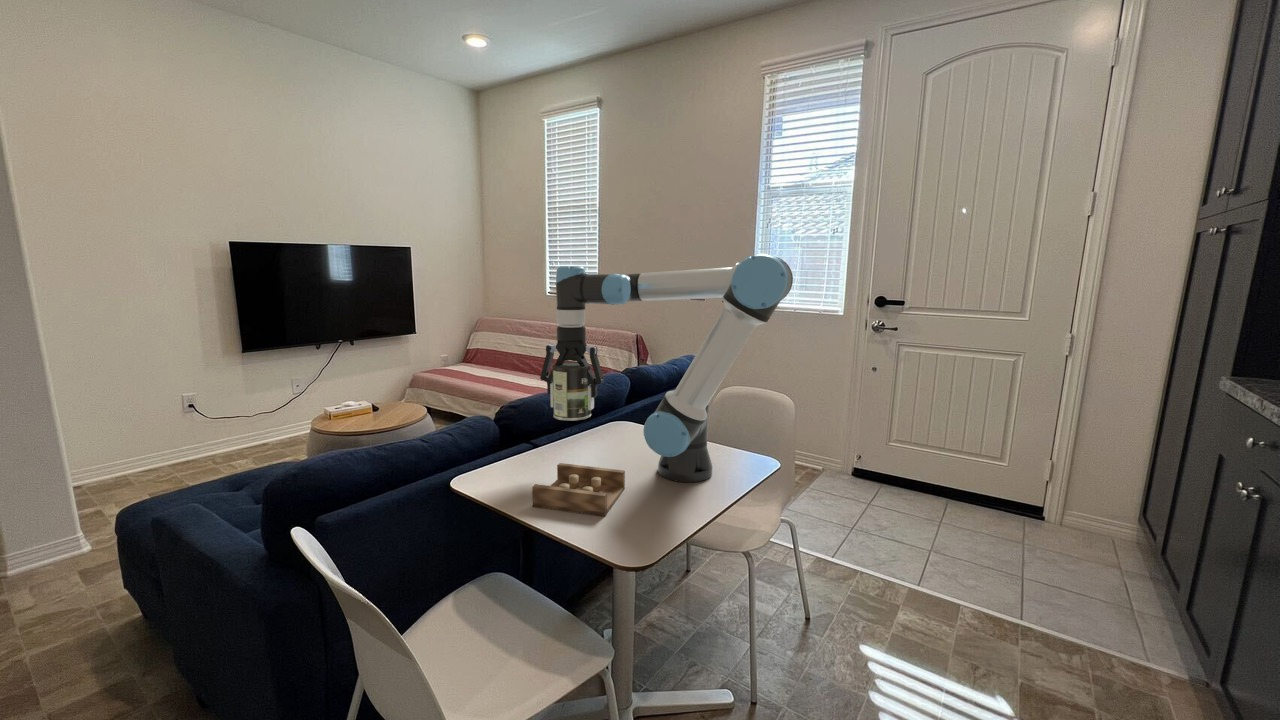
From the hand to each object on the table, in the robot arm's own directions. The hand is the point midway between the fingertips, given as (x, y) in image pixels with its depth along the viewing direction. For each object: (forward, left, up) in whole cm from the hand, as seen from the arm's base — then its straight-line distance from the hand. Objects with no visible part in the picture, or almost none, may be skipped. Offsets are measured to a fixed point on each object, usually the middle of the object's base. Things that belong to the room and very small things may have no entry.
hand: (572, 407), depth 140 cm
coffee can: (0, 0, -3) cm, 3 cm away
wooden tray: (-8, +14, -19) cm, 25 cm away
